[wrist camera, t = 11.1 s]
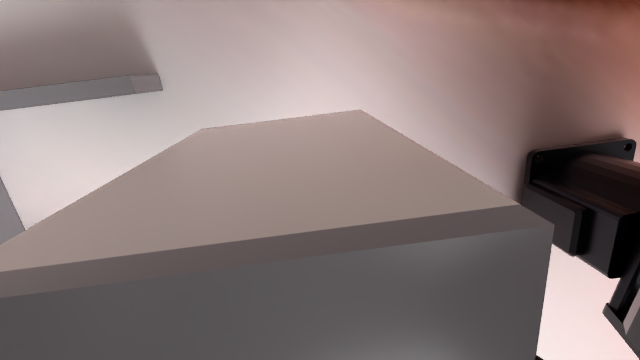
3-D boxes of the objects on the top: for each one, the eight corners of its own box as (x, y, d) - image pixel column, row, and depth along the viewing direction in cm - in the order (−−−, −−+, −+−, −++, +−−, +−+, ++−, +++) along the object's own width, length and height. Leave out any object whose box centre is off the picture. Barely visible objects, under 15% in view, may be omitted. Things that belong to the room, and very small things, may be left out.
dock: (158, 74, 17) (130, 74, 14) (211, 269, 21) (197, 300, 18) (-53, 100, 17) (-126, 106, 14) (41, 292, 21) (0, 328, 18)
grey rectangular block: (360, 109, 10) (555, 224, 2) (376, 333, 13) (485, 704, 5) (201, 129, 10) (-121, 314, 2) (253, 350, 13) (187, 753, 5)
